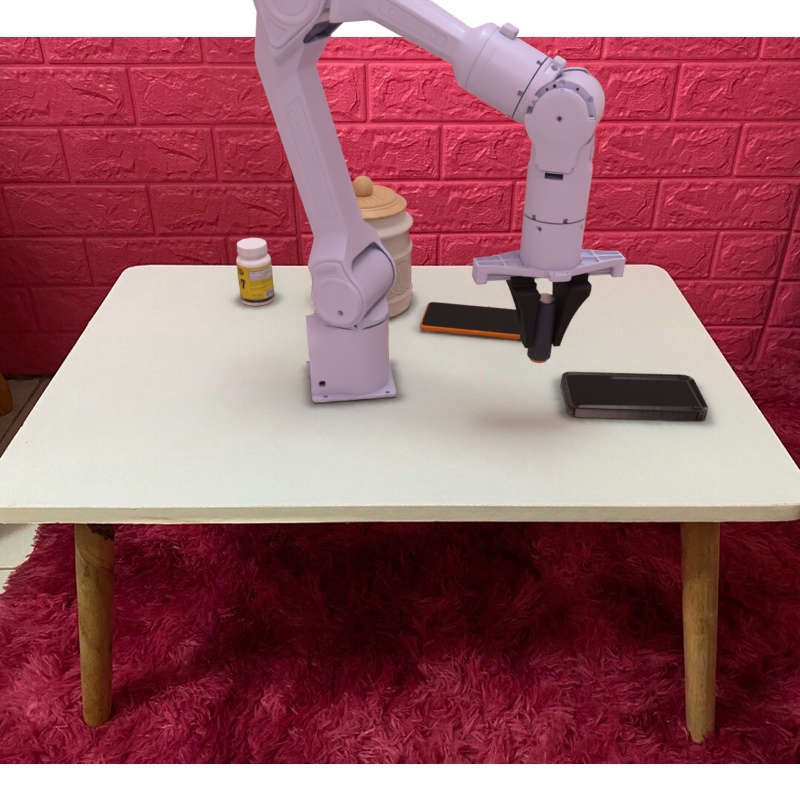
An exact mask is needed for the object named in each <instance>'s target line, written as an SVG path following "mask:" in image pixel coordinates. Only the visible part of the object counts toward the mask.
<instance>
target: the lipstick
mask: <svg viewBox="0 0 800 800" xmlns="http://www.w3.org/2000/svg"><path fill="white" fill-rule="evenodd" d="M539 293H540V292H539ZM540 294H541V299H540V302H539V305H538V309H537V313H536V318H535V326H534V341H533V345H532V348H527V350H526V356H527V357H528V359H529V360H530V361H531V362H532V363H535V364H543V363H546V362H547V361H548V360H550V358H551V356H552V347H553V345H552V341H553V333H554V325H555V317H556V309H557V299H556V298H555V296H553V295H552V293H549V292H548V293H546V292H541V293H540Z"/></svg>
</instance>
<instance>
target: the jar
mask: <svg viewBox="0 0 800 800" xmlns="http://www.w3.org/2000/svg"><path fill="white" fill-rule="evenodd" d="M352 185H353V189H354V192H355V195H356V199H357V202H358V205H359V208H360V212H361V215H362V218H363V220H364V221H365V222H366V223H367V224H369V225H370V226H372V227H373V228H375V229H376V230H377V232H378V235H379V238H380V241H381V243H382V245H383V246H384V248H385V249H386V250H387V251H388V252H389V254H390V255H391V256H392V258H393V260H394V262H395V265H396V270H397V276H396V281H395V283H394V285H393V286H392V288H391V289H390V290H389V291H388V292H386V293H387V304H388V308H389V319H390V318H392V317H393V318H394V317H396V316H398V315H401V313H404V312H405V311H406V310H407V309H408V308H409V306H410V305H411V300H412V297H413V293H414V292H413V282H412V254H413V253H412V250H413V247H414V244H413V240H412V239H411V238H410V229H411V228H412V227H413V224H414V218H413V216H412V215H411V214H410V213H409V212H408V211H406V209H407V205H408V202H407V199H405V197H404V196H402V195H401V194H398V193H397V192H396V191H395V190H394V189H391V188H390V187H387V186H384V185H379V184H373V181H372V179H371V178H370V177H369V176H367V175H359V176H357V177H355V178H354V180H353V182H352Z"/></svg>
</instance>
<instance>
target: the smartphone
mask: <svg viewBox="0 0 800 800" xmlns="http://www.w3.org/2000/svg"><path fill="white" fill-rule="evenodd" d="M419 328H420V329H421V330H423V331H429V332H439V333H450V334H462V335H471V336H481V337H490V338H502V339H510V340H511V339H512V340H520V328H519V321H518V316H517V312H516V308H507V307H505V308H504V307H494V306H484V305H483V306H482V305H472V304H460V303H452V302H451V303H450V302H439V301H430V302H428V303H427V304H426V306H425V310H424V313H423V315H422V318H421V321H420V323H419Z"/></svg>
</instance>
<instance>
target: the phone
mask: <svg viewBox="0 0 800 800" xmlns="http://www.w3.org/2000/svg"><path fill="white" fill-rule="evenodd" d="M560 388H561V391H562V395H563V400H564V405H565V409H566V412H567V413H568V415H571V416H572V417H575V418H597V419H598V418H599V419H631V420H633V419H634V420H663V421H664V420H666V421H668V420H670V421H673V420H674V421H704V420H705V419H706V417H707V414H708V412H709V411H708V410H709V406H708V404H707V402H706V400H705V398H704V396H703V394H702V393H701V390H700V388H699V386H698V384H697V383H696V381H695V379H694V378H693V377H691V376H690V375H687V374H682V373H681V374H680V373H679V374H678V373H677V374H676V373H675V374H674V373H643V372H642V373H641V372H640V373H639V372H638V373H637V372H635V373H634V372H605V371H604V372H603V371H601V372H600V371H595V372H594V371H565V372H563V373H562V374H561V379H560Z"/></svg>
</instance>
